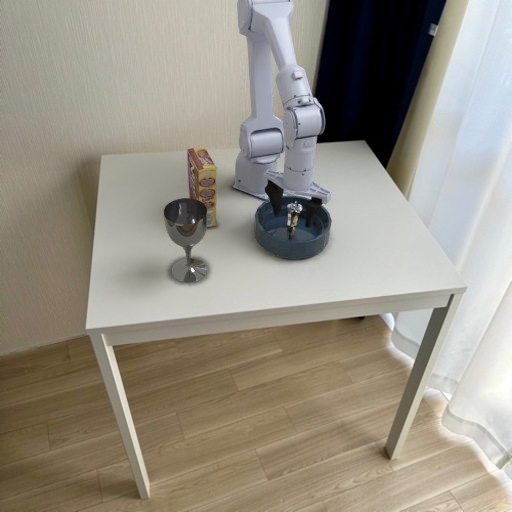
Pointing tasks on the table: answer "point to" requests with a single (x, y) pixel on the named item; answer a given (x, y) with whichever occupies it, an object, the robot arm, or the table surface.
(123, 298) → the table surface
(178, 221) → the wine glass
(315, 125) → the robot arm
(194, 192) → the candy box
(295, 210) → the ring
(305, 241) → the bowl
